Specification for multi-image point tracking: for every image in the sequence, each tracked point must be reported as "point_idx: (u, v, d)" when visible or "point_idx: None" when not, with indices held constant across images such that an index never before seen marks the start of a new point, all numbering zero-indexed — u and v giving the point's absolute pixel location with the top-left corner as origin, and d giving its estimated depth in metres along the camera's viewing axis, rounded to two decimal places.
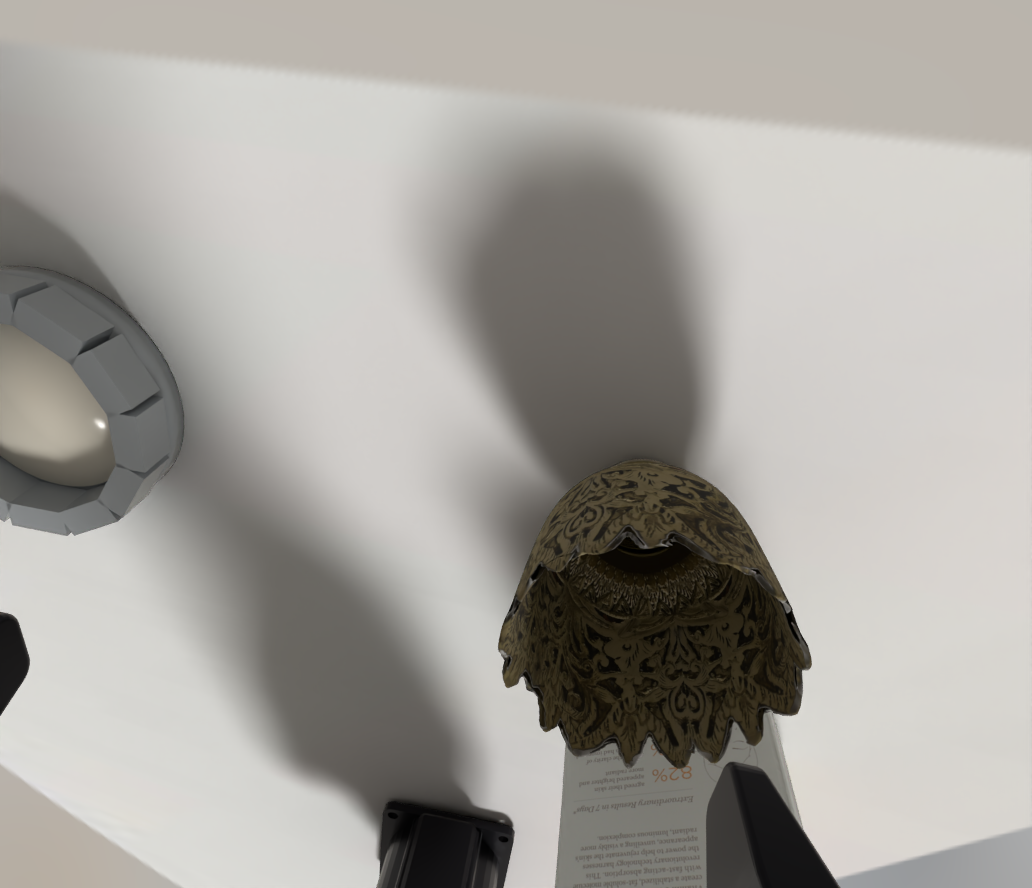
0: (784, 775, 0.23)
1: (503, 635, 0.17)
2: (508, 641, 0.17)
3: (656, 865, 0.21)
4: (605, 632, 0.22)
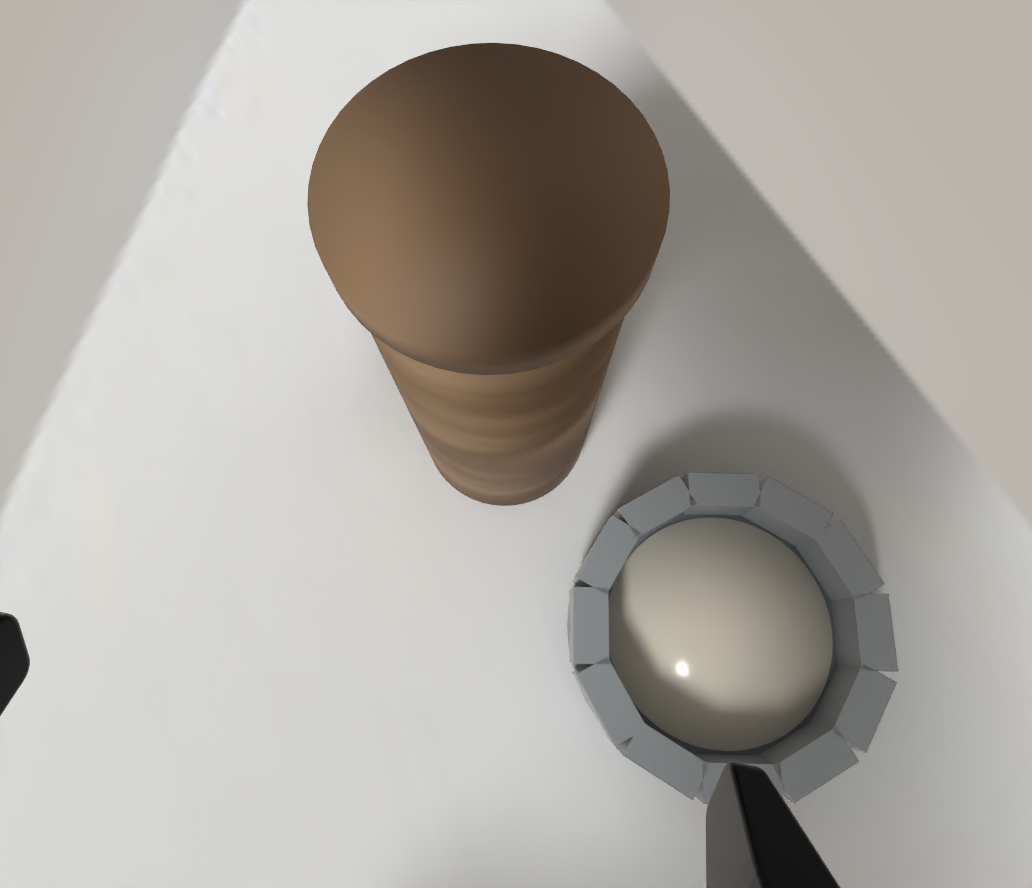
0: None
1: None
2: None
3: None
4: None
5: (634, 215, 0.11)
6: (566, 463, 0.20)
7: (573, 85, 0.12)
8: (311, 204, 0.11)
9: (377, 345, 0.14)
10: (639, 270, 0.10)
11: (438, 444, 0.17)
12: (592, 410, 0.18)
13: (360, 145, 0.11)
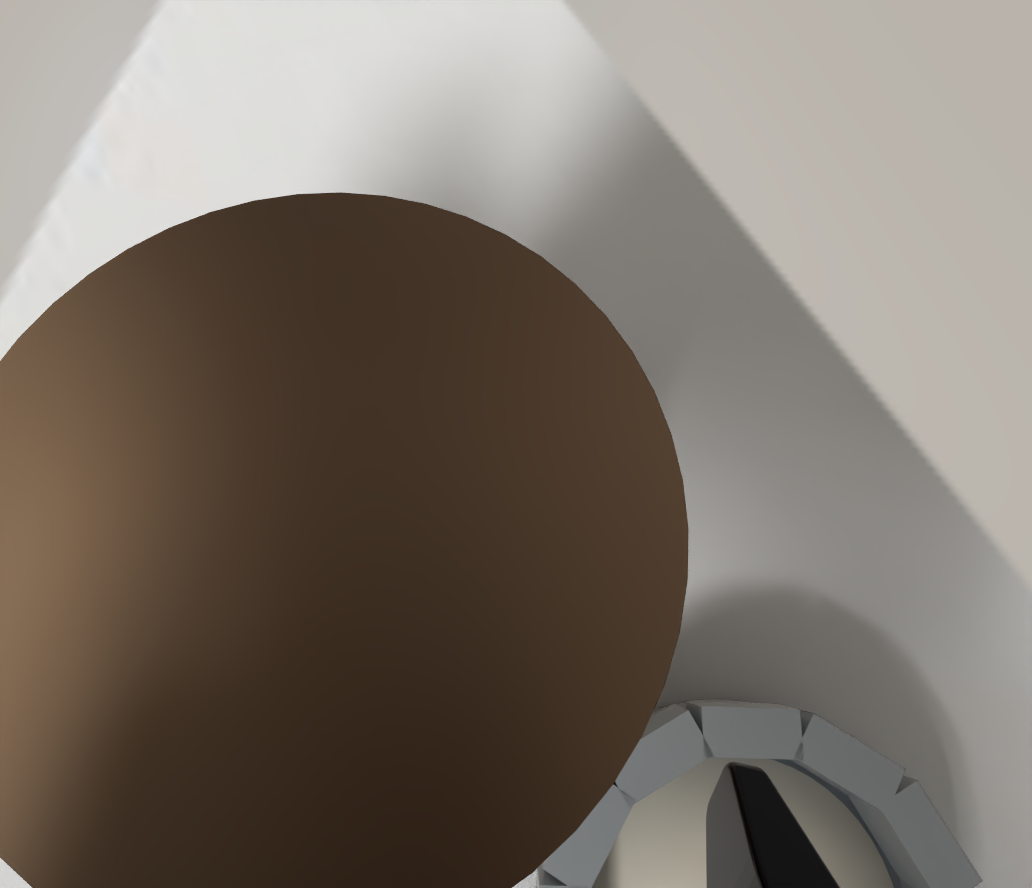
0: None
1: None
2: None
3: None
4: None
5: (613, 590, 0.05)
6: None
7: (492, 285, 0.06)
8: None
9: None
10: (622, 737, 0.05)
11: None
12: None
13: (46, 417, 0.05)
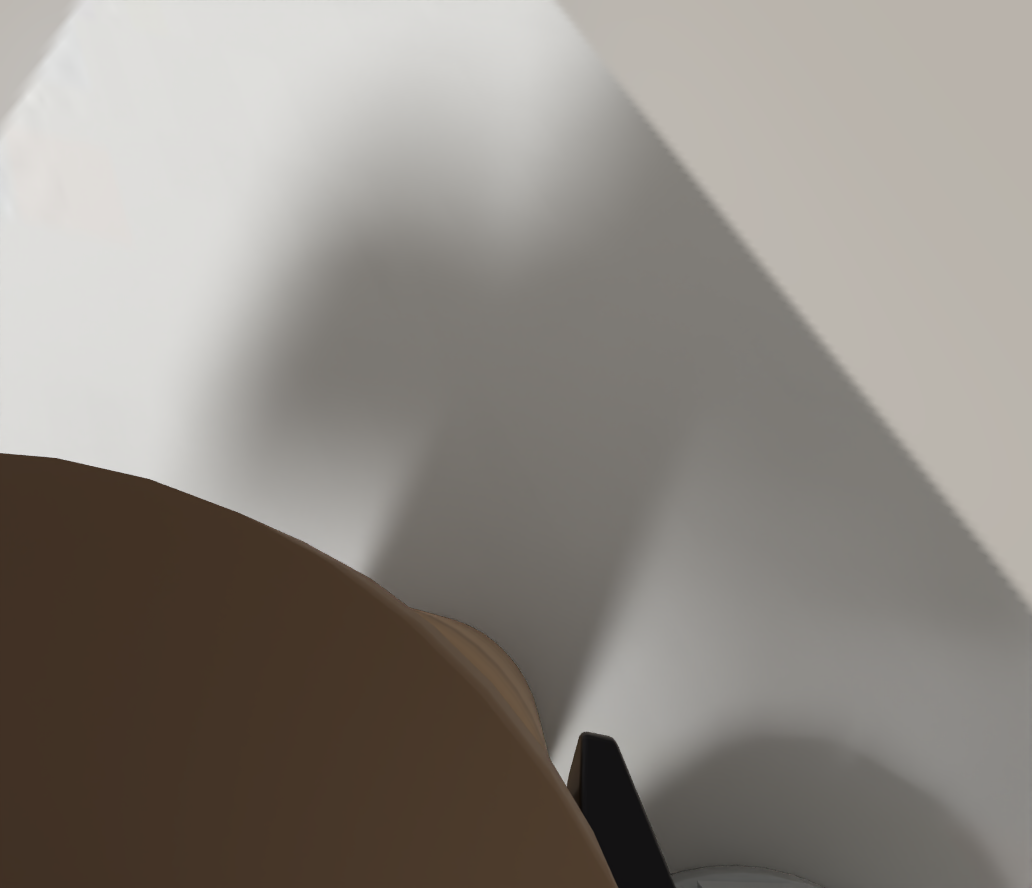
0: None
1: None
2: None
3: None
4: None
5: None
6: None
7: (283, 702, 0.02)
8: None
9: None
10: None
11: None
12: None
13: None
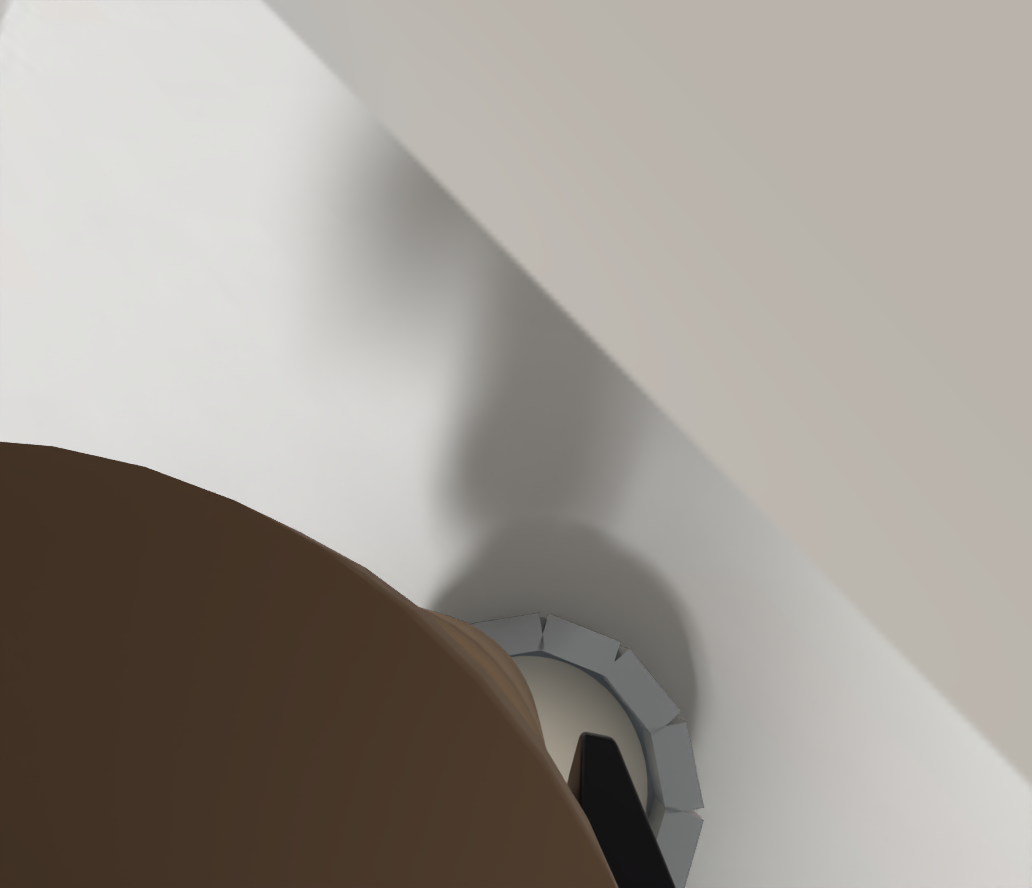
0: None
1: None
2: None
3: None
4: None
5: None
6: None
7: (275, 686, 0.02)
8: None
9: None
10: None
11: None
12: None
13: None
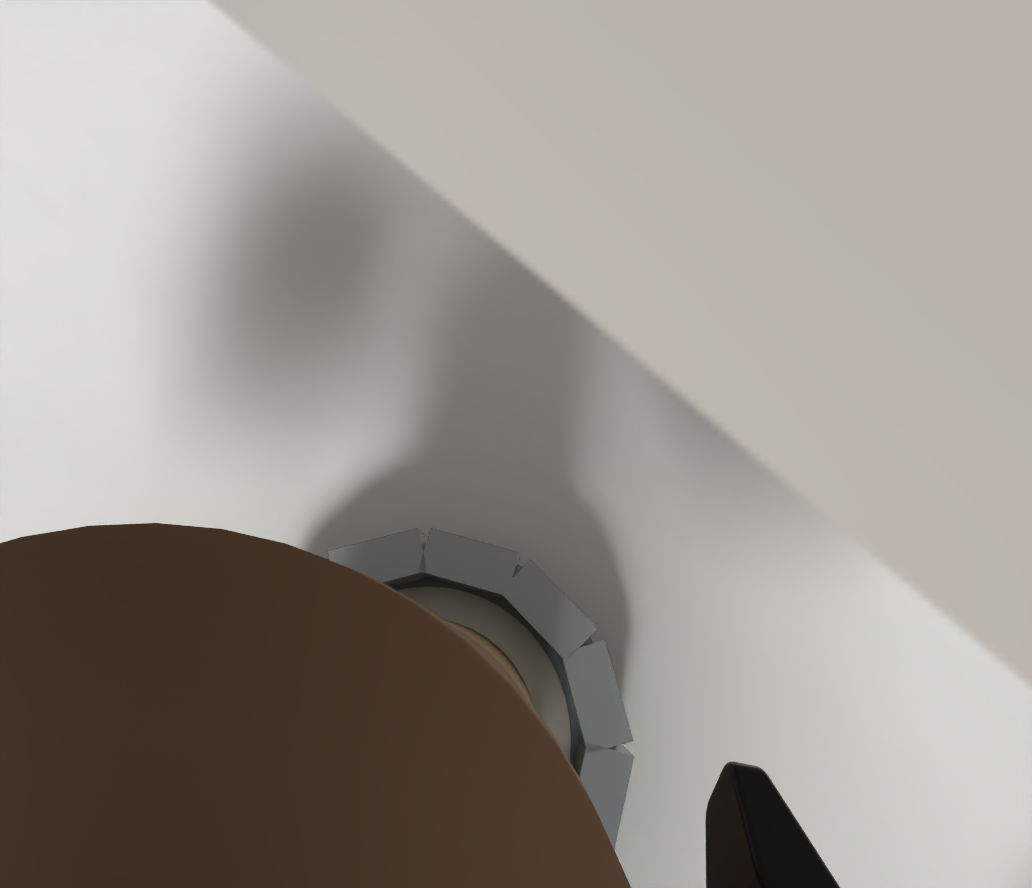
0: None
1: None
2: None
3: None
4: None
5: None
6: None
7: (381, 692, 0.04)
8: None
9: None
10: None
11: None
12: None
13: None
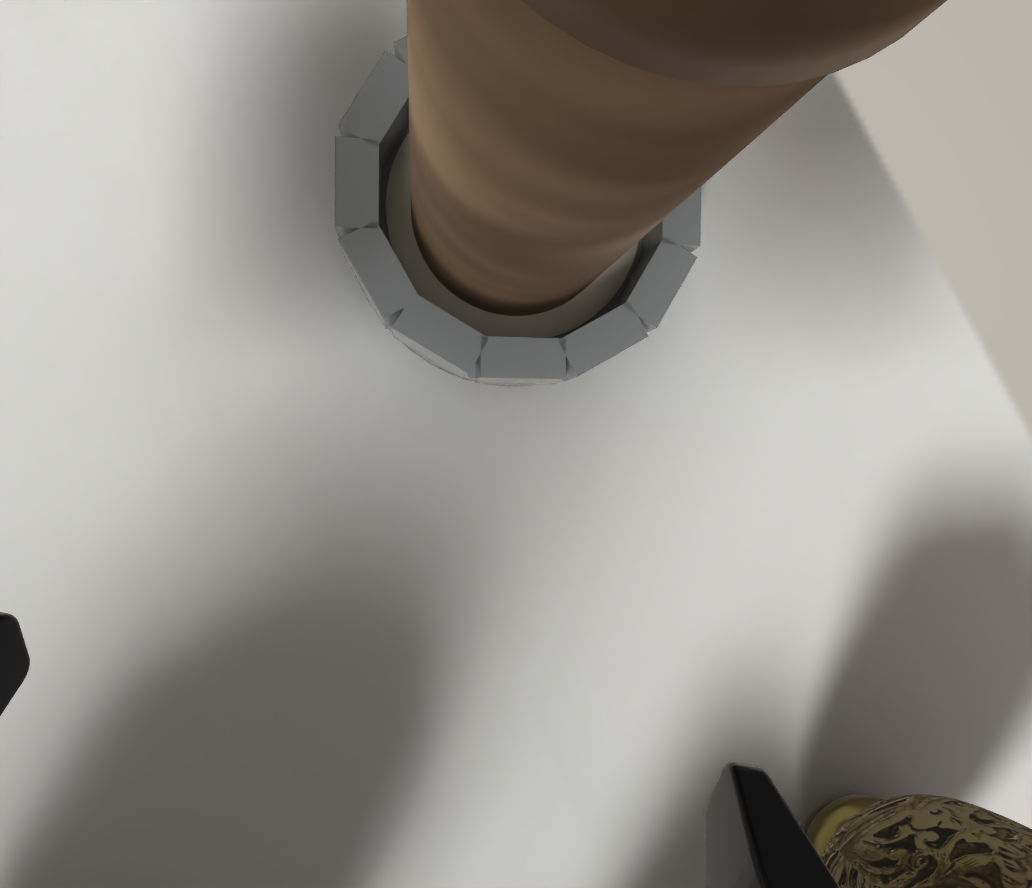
0: None
1: None
2: None
3: None
4: None
5: None
6: (589, 281, 0.16)
7: None
8: None
9: None
10: None
11: (443, 199, 0.12)
12: None
13: None
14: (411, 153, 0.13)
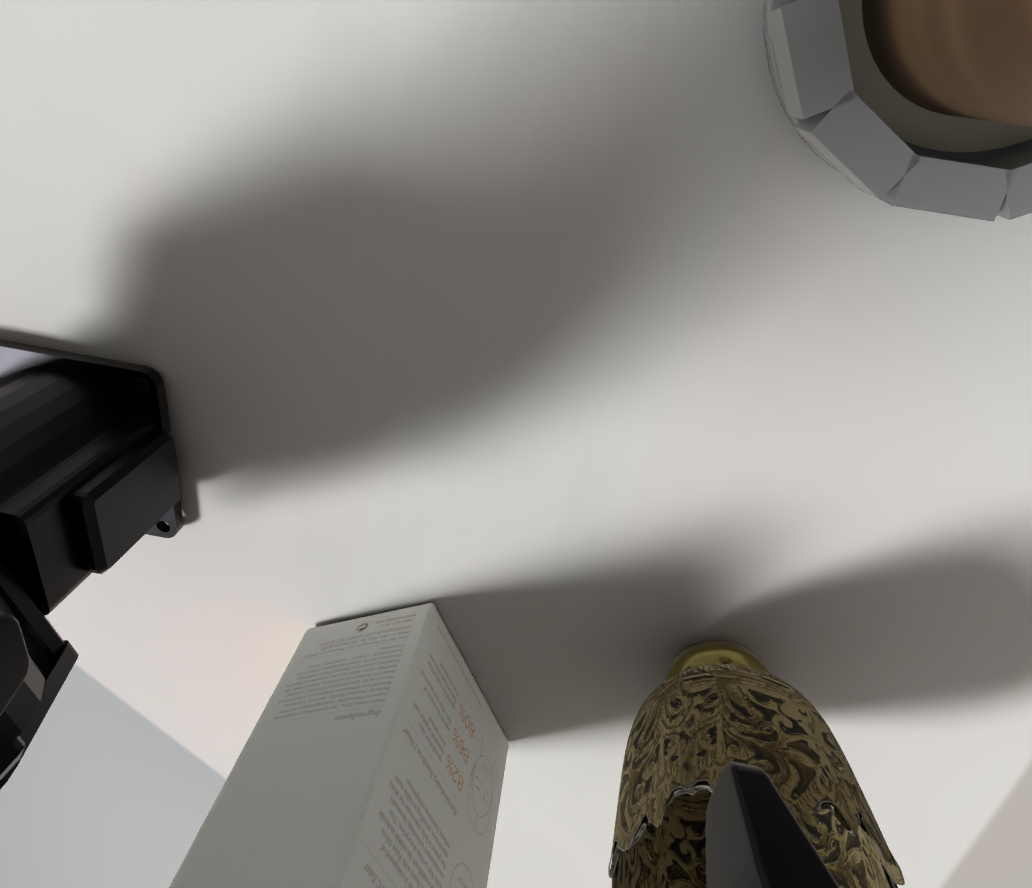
0: None
1: (800, 812, 0.16)
2: None
3: (424, 854, 0.20)
4: None
5: None
6: (1010, 123, 0.12)
7: None
8: None
9: None
10: None
11: None
12: None
13: None
14: None
